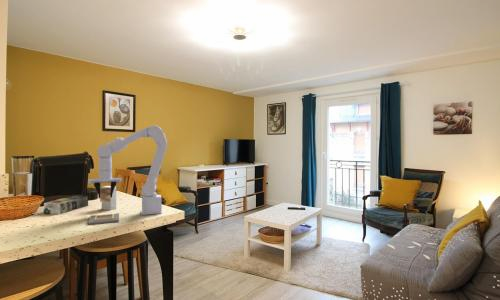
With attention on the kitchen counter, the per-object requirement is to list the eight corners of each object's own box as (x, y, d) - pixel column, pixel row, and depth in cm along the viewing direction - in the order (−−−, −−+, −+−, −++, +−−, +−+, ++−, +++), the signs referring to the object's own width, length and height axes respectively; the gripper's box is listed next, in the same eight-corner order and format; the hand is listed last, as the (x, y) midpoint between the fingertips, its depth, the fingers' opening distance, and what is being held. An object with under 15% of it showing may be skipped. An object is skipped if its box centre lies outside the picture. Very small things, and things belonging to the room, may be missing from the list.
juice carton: (58, 215, 137) (58, 202, 137) (41, 214, 139) (41, 202, 139) (89, 206, 157) (89, 195, 157) (73, 205, 159) (73, 194, 159)
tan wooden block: (110, 199, 142) (110, 187, 142) (110, 201, 138) (110, 188, 138) (100, 200, 140) (100, 187, 140) (100, 201, 136) (100, 189, 136)
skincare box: (116, 208, 152) (116, 186, 151) (110, 210, 148) (110, 187, 147) (107, 207, 154) (107, 185, 153) (101, 209, 149) (101, 186, 149)
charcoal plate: (119, 215, 138) (119, 212, 138) (118, 222, 127) (118, 218, 127) (90, 217, 133) (90, 214, 133) (88, 224, 122) (87, 221, 122)
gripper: (121, 168, 145) (121, 195, 146) (89, 169, 139) (89, 197, 140) (121, 170, 139) (121, 197, 139) (87, 171, 133) (87, 199, 133)
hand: (105, 197), depth 139 cm, fingers closed on tan wooden block, 4 cm apart
